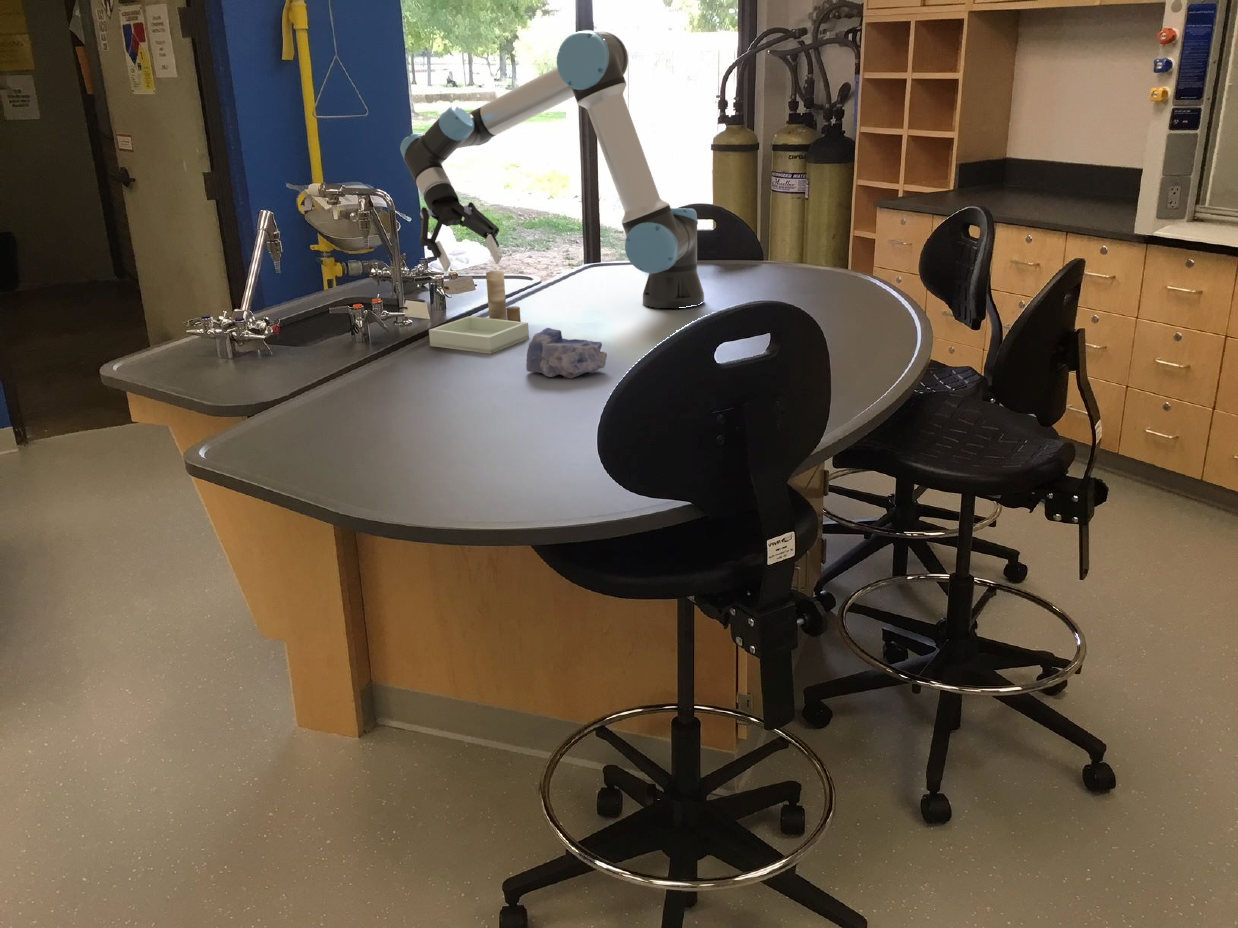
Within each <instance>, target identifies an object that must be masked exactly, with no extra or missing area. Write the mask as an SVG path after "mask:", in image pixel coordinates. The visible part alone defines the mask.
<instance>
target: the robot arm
mask: <svg viewBox="0 0 1238 928" xmlns="http://www.w3.org/2000/svg"><path fill="white" fill-rule="evenodd" d="M559 46H560V47H559V49H558V52H557V54H556V67H554V68H552V69H550V70H548V71H547V72H545V73H542V74H540V76H539V75H538V76H537V77H535V78H534V79H532V80H529V81H528V82H525V83H524V84H522V85H520V86H518V87H516V88H513V89H512V90H510V91H509V92H506V93H504V94H503V95H500V96H499V97H497V98H495V99H493V100H491V101H490V102H489V101H488V102H487V103H485V104H483V105H481V106H480V107H477V108H475V109H474V110H471V111H470V112H466V110H465V109H463V108H461V107H458V106H457V105H452V106H450V107H448V108H447V110H445V111H444V112H442V113H441V114H440V116H439V117H438V119H437V120H436V121H435V122H434V123H433V124H432V125H431V126H430V127H429V128H428V130H427V131H425V133H421V132H414V133H412V134H410V135H409V136H406V137H405V138H403V139H402V141H401V143H400V147H399V149H400V153H401V156H402V158H403V162H404V163H405V166H406V167H407V168H408V171H409V172H410V174H411V176H412V178H413V180H414V183H415V184H416V186H417V188H418V190H419V192H420V194H421V197H422V198H423V200H424V203H425V205H426V207H424V206H423V207H422V208H421V210H420V213H419V215H418V216H419V219H420V223H421V224H420V235H419V246H420V247H421V248H425V247H426V249H427V250H428V251H431V253H432V256H433V257H434V258H435V259H438V261H439V263H440V265H441V267H442V268H443V270H444V272H448V271H449V269H450V266H451V264H452V262H451V261H450V259H449V257H448V255H447V254H446V250H445V248H444V247H443V245H442V243H441V241H440V240H437V238H438V236H439V235H440V234H439V233H440V231H441V228H442V226H445V227H450V226H461V227H463V228H467V229H468V230H470V231H471V232H474V233H475V234H477V235H478V236H480V237H482V238H483V239H485V241H484V244H485V246H486V247H487V249H488V251H489V253H490V255H491V257H492V259H493V261H494V263H495V264H499V263H500V262H501V260H502V258H503V254H502V253H501V251H500V249H499V247H500V244H499V241H498V240H497V236H498V234H499V231H500V228H499V227H498V226H497V225H496V224H494V223H493V222H492V220H490V219H489V218H488V217H487V216H485V215H484V213H482V212H481V211H480V210H478V209H477V207H476V205H475V204H474V203H473V202H472V201H470V202H468V204H467V205H463V204H461V203H460V200H459V196H458V194H457V192H456V191H455V189H454V186H453V184H452V182H451V181H450V179H449V177H448V175H447V173H446V171H445V170H444V167H443V165H442V164H443V163H444V162H445V161H446V160H447V159H448V158H449V157H450V156H451V154H453V153H454V152H455V151H456V150H457V149H461V148H465V147H466V148H467V147H473V146H481V145H483V144H487V143H488V142H490V141H491V139H492V138H494V137H496V136H497V135H499V134H501V133H504V132H506V131H507V130H510V129H512V128H513V127H515V126H517V125H519V124H522V123H523V122H525V121H527V120H530V119H531V118H534V117H536V116H538V115H540V114H542V113H544V112H546V111H547V110H550V109H552V108H554V107H555V106H558V105H560V104H561V103H563V102H565V101H568V100H569V99H572V98H575V101H576V103H577V105H578V106H581V107H582V108H585V109H586V111H587V114H588V116H589V119H590V122H591V124H592V127H593V129H594V132H595V135H596V139H597V140H598V144H599V145H600V149H601V152H602V154H603V156H604V157H603V158H604V160H605V162H606V163H605V164H606V165H607V168H608V170H609V173H610V175H611V179H612V182H613V185H614V187H615V189H616V192H617V195H618V197H619V201H620V203H621V206H622V208H623V211H624V216H623V218H622V220H621V225H622V228H623V230H624V234H625V235H626V238H625V242H624V250H625V251H624V252H625V254H626V257H627V259H628V262H629V263H630V264H631V265H632V266H633V267H634V268H635V269H637V270H639V271H641V272H643V273H646V274H648V276H647V279H646V282H645V286H644V289H643V293H642V304H643V306H645V305H647V306H646V307H648V306H649V308H652V307H654V308H653V309H659V308H679V307H686V306H691V305H698V304H700V303H701V302H703V301H704V302H705V292H704V289H703V286H702V283H701V280H700V277H699V273H698V224H699V221H698V214H697V211H696V210H695V208H691V207H690V208H683V207H682V208H681V207H677V208H676V207H671V205H670V204H669V203H668V202H667V201H664V200H663V199H662V198H661V197H660V194H659V192H658V189H657V187H656V184H655V183H656V182H655V181H654V177H653V175H652V172H651V169H650V166H649V164H648V161H647V158H646V155H645V153H644V150H643V147H642V145H641V141H640V139H639V136H638V132H637V130H636V128H635V125H634V122H633V119H632V117H631V114H630V111H629V108H628V105H627V103H626V100H625V96H624V92H625V90H626V87H627V82H626V79H625V76H624V75H625V73H626V72H627V69H628V63H629V54H628V51H627V47H626V46H625V44H624V43H623V41H622V40H621V39H620V38H619V37H618V36H616V35H615V34H613V33H611V32H606V31H595V30H591V29H583V30H580V31H577V32H572V34H570V35H568V36H567V37H566V38H565V39H564V40H563V41H562V43H561V45H559ZM431 217H432V218H433V219H434V220H436V221H437V222H436V225H435V227H434V229H433V232H432V235H431V237H428V236H429V222H430V221H429V220H430V218H431Z"/></svg>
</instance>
